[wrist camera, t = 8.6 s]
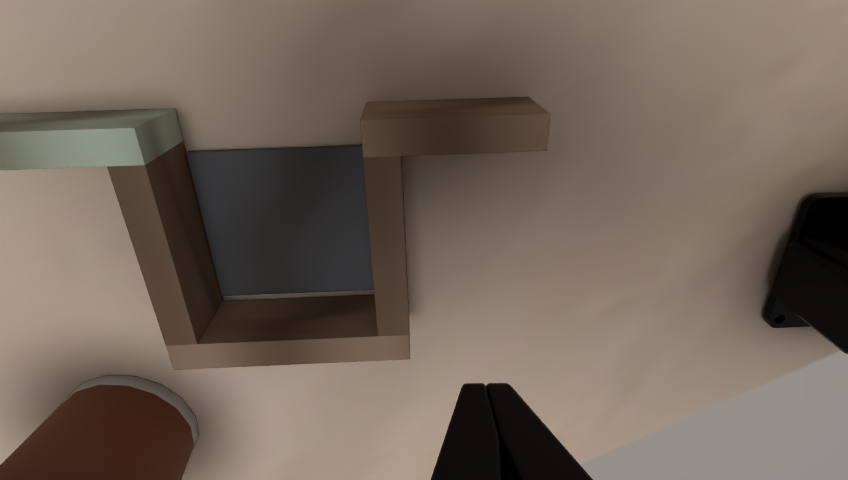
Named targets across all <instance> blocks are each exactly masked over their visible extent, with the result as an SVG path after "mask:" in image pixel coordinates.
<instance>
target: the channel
mask: <svg viewBox="0 0 848 480" xmlns="http://www.w3.org/2000/svg"><path fill="white" fill-rule="evenodd" d="M549 122H550V113H548V112H547V111H546V110H544V109H543V108H542V107H541V106H539V105H538V104H537V103H535V102H534V101H533V100H532V99H530V98H529V97H512V98H482V99H451V100H420V101H390V102H367V103H366V106H365V108H364V111H363V114H362V117H361V119H360V124H361V136H362V145H351V146H322V147H293V148H265V149H236V150H207V151H188V152H186V151H185V147H184V143H183V139H182V135H181V131H180V127H179V123H178V119H177V115H176V111H175V109H144V110H114V111H83V112H52V113H22V114H0V170H21V169H49V168H78V167H106V166H107V168H108V171H109V174H110V177H111V180H112V183H113V186H114V189H115V192H116V195H117V198H118V201H119V204H120V207H121V210H122V213H123V217H124V220H125V223H126V226H127V229H128V232H129V235H130V238H131V241H132V244H133V247H134V250H135V253H136V256H137V259H138V262H139V265H140V268H141V271H142V274H143V277H144V280H145V283H146V287H147V290H148V293H149V296H150V299H151V302H152V305H153V308H154V311H155V314H156V317H157V320H158V323H159V326H160V329H161V332H162V335H163V338H164V341H165V344H166V347H167V350H168V353H169V357H170V360H171V363H172V366H173V369H174V370H180V369H202V368H224V367H247V366H269V365H291V364H313V363H336V362H358V361H380V360H403V359H410V332H409V301H408V279H407V258H406V236H405V215H404V193H403V172H402V156H419V155H447V154H475V153H504V152H532V151H547V144H548V133H549ZM186 154H187V155H186ZM187 158H188V159H187ZM188 162H189V163H188ZM189 166H190V167H189ZM190 170H191V171H190ZM191 174H192V175H191ZM192 178H193V179H192ZM193 182H194V183H193ZM194 186H195V187H194ZM195 190H196V191H195ZM196 194H197V195H196ZM197 198H198V199H197ZM198 202H199V203H198ZM199 206H200V207H199ZM200 210H201V211H200ZM201 214H202V215H201ZM202 218H203V219H202ZM203 222H204V223H203ZM204 226H205V227H204ZM205 230H206V231H205ZM206 234H207V235H206ZM207 238H208V239H207ZM208 242H209V243H208ZM209 246H210V247H209ZM210 250H211V251H210ZM211 254H212V255H211ZM212 258H213V259H212ZM213 262H214V263H213ZM214 266H215V267H214ZM215 270H216V271H215ZM216 274H217V275H216ZM217 278H218V279H217ZM218 282H219V283H218ZM219 286H220V287H219ZM220 290H221V291H220ZM353 290H374V293H375V295H360V296H336V297H312V298H288V299H264V300H240V301H223V299H222V296H233V295H257V294H281V293H305V292H329V291H353ZM221 294H222V295H221Z"/></svg>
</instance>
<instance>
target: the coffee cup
mask: <svg viewBox="0 0 848 480" xmlns="http://www.w3.org/2000/svg"><path fill="white" fill-rule="evenodd" d="M198 435H199V433H198V427H197V421H196V416H195V415H194V414H193V412H192V411H191V410H190V408H189V407H188V406H187V404H186V403H185V402H184V400H183V399H182V398H180V397H179V396H177V395H176V394H174V393H173V392H171V391H170V390H168V389H167V388H165V387H164V386H162V385H161V384H158V383H154V382H151V381H148V380H145V379H142V378H139V377H136V376H117V375H106V376H102V377H99V378H96V379H92V380H89V381H86V382H83V383H82V384H81V385H80V386H79V387H78V388H77V389H76V390H74V391H73V392H72V393H71V394H70V395H69V396H68V397H67V398H66V399H65V401H64V402H63V403H62V404H61V405H60V406H59V407H58V408H57V409H56V410H55V411H54V412H53V413H52V414H51V415H50V416H49V417H48V418H47V419H46V420H45V421H44V422H43V423H42V424H41V425H40V426H39V427H38V428H37V429H36V430H35V431H34V432H33V433H32V434H31V435H30V436H29V437H28V438H27V439H26V440H25V441H24V442H23V443H22V444H21V445H20V446H19V447H18V448H17V449H16V450H15V451H14V452H13V453H12V454H11V455H10V456H9V457H8V458H7V459H6V460H5V461H4V462H3V463H2V464H1V465H0V480H181V479H182V476H183V473H184V471H185V468H186V465H187V462H188V460H189V457H190V454H191V452H192V449H193V447H194V445H195V442H196V440H197V438H198Z"/></svg>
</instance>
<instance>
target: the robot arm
mask: <svg viewBox="0 0 848 480" xmlns="http://www.w3.org/2000/svg"><path fill="white" fill-rule="evenodd" d="M818 204H819V206H818V207H817V208H816V209H815V210H814V208H815V207H816V206H817V205H818ZM776 316H777V317H776ZM775 317H776V318H775ZM763 319H764V321H765V322H766V323H767V324H769V325H770V326H771V327H773V328H786V327H808V326H811V327H813V328H814V329H815V330H816V331H818V332H819V333H820V334H821V335H823V336H824V337H825V338H826V339H828V340H829V341H830V342H831V343H833V344H834V345H835V346H836V347H838V348H839V349H840V350H841V351H843V352H844V353H846V354H848V193H827V194H814V195H811V196H809V197H807V198H806V199H805V200H804V201H803V203H802V205H801V207H800V210H799V213H798V216H797V219H796V222H795V224H794V227H793V230H792V233H791V236H790V239H789V242H788V245H787V248H786V250H785V253H784V256H783V259H782V262H781V265H780V268H779V271H778V273H777V276H776V279H775V282H774V285H773V288H772V291H771V294H770V296H769V299H768V302H767V305H766V308H765V311H764V314H763ZM431 480H593V479H592V478H591V477H590V476H589V475H588V474H587V472H586V471H585V470H584V469H583V468H582V467H581V466H580V464H579V463H578V462H577V461H576V460H575V459H574V458H573V456H572V455H571V454H570V453H569V452H568V451H567V450H566V448H565V447H564V446H563V445H562V444H561V443H560V442H559V440H558V439H557V438H556V437H555V436H554V435H553V433H552V432H551V431H550V430H549V429H548V428H547V427H546V425H545V424H544V423H543V422H542V421H541V420H540V419H539V417H538V416H537V415H536V414H535V413H534V412H533V411H532V409H531V408H530V407H529V406H528V405H527V404H526V403H525V401H524V400H523V399H522V398H521V397H520V396H519V395H518V393H517V392H516V391H515V390H514V389H513V388H512V387H511V386H510V385H509V384H507V383H489V384H487V385H486V386H485V385H484V384H482V383H466V384H464V385H463V386H462V388H461V391H460V394H459V397H458V400H457V403H456V406H455V409H454V412H453V415H452V418H451V421H450V424H449V427H448V430H447V433H446V436H445V439H444V442H443V445H442V448H441V451H440V454H439V457H438V460H437V463H436V466H435V469H434V472H433V474H432V477H431Z"/></svg>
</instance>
